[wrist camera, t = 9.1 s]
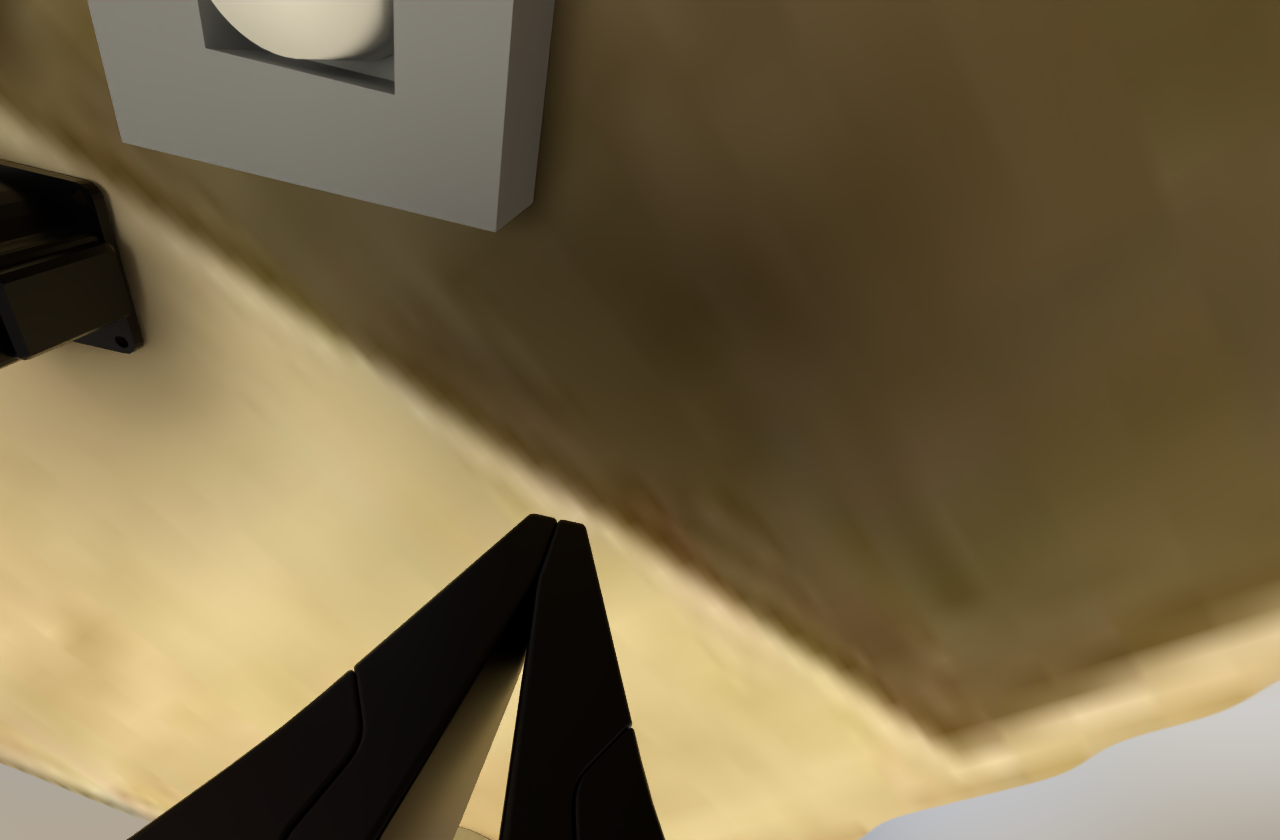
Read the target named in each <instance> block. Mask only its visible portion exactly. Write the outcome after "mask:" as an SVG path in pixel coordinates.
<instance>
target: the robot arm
mask: <svg viewBox="0 0 1280 840" xmlns="http://www.w3.org/2000/svg"><path fill="white" fill-rule="evenodd" d="M82 193H83V194H84V195H85V197H86V199H85V198H84V196H83V194H82ZM71 341H74V342H78V343H82V344H87V345H91V346H95V347H100V348H104V349H108V350H113V351H117V352H121V353H128V354H130V353H132V352H134V351H136V350H138V349H140V348H142V346H143V339H142V335H141V332H140V328H139V324H138V321H137V317H136V313H135V310H134V306H133V303H132V299H131V295H130V292H129V288H128V284H127V281H126V277H125V273H124V270H123V266H122V262H121V259H120V255H119V252H118V248H117V244H116V241H115V237H114V233H113V230H112V226H111V222H110V219H109V215H108V212H107V208H106V204H105V201H104V198H103V195H102V193H101V192H100V190H99V189H98V188H97V187H96V186H95V185H94V184H92V183H91V182H89V181H87V180H84V179H79V178H75V177H71V176H67V175H63V174H58V173H54V172H50V171H46V170H42V169H37V168H33V167H29V166H25V165H21V164H17V163H12V162H8V161H4V160H0V369H1V368H3V367H6V366H8V365H10V364H13V363H15V362H17V361H20V360H28V359H31V358H34V357H36V356H38V355H41V354H43V353H45V352H48V351H50V350H52V349H55V348H57V347H59V346H62V345H64V344H66V343H68V342H71ZM524 660H525V661H524ZM523 663H524V668H523V675H522V682H521V689H520V696H519V703H518V710H517V717H516V723H515V730H514V737H513V744H512V751H511V758H510V765H509V772H508V779H507V786H506V793H505V800H504V807H503V814H502V821H501V828H500V835H499V840H665V838H664V835H663V832H662V829H661V826H660V823H659V820H658V817H657V814H656V811H655V808H654V805H653V801H652V798H651V794H650V790H649V787H648V783H647V779H646V776H645V772H644V768H643V764H642V761H641V757H640V753H639V749H638V744H637V740H636V736H635V732H634V729H633V728H631V726H632V720H631V716H630V712H629V708H628V703H627V699H626V695H625V691H624V686H623V682H622V678H621V674H620V670H619V665H618V661H617V657H616V653H615V648H614V644H613V640H612V636H611V632H610V627H609V623H608V619H607V615H606V610H605V606H604V602H603V598H602V593H601V589H600V585H599V581H598V577H597V572H596V568H595V564H594V560H593V555H592V551H591V547H590V543H589V538H588V534H587V530H586V527H585V526H584V525H583V524H580V523H576V522H571V521H566V520H560V521H559V522H558V523H557V521H556V519H555V518H552V517H548V516H543V515H538V514H530V515H528V516H527V517H526V518H525V519H524V520H522V521H521V522H520V523H519V524H518V525H517V526H515V527H514V528H513V529H512V530H511V531H510V532H509V533H507V534H506V535H505V536H504V537H503V538H502V539H500V540H499V541H498V542H497V543H496V544H495V545H494V546H492V547H491V548H490V549H489V550H488V551H487V552H485V553H484V554H483V555H482V556H481V557H480V558H478V559H477V560H476V561H475V562H474V563H473V564H472V565H470V566H469V567H468V568H467V569H466V570H465V571H463V572H462V573H461V574H460V575H459V576H458V577H457V578H455V579H454V580H453V581H452V582H451V583H450V584H448V585H447V586H446V587H445V588H444V589H443V590H442V591H440V592H439V593H438V594H437V595H436V596H435V597H433V598H432V599H431V600H430V601H429V602H428V603H426V604H425V605H424V606H423V607H422V608H421V609H420V610H418V611H417V612H416V613H415V614H414V615H413V616H411V617H410V618H409V619H408V620H407V621H406V622H405V623H403V624H402V625H401V626H400V627H399V628H398V629H396V630H395V631H394V632H393V633H392V634H391V635H390V636H388V637H387V638H386V639H385V640H384V641H383V642H381V643H380V644H379V645H378V646H377V647H376V648H374V649H373V650H372V651H371V652H370V653H369V654H368V655H366V656H365V657H364V658H363V659H362V660H361V661H359V662H358V663H357V664H356V665H355V667H354V671H352V670H349V671H347V672H346V673H345V674H344V675H343V676H342V677H341V678H339V679H338V680H337V681H336V682H335V683H334V684H333V685H331V686H330V687H329V688H328V689H327V690H326V691H325V692H323V693H322V694H321V695H320V696H319V697H317V698H316V699H315V700H314V701H312V702H311V703H310V704H309V705H308V706H306V707H305V708H304V709H303V710H302V711H300V712H299V713H298V714H297V715H295V716H294V717H293V718H292V719H291V720H289V721H288V722H287V723H286V724H284V725H283V726H282V727H281V728H279V729H278V730H277V731H275V732H274V733H273V734H271V735H270V736H269V737H267V738H266V739H265V740H263V741H262V742H261V743H259V744H258V745H257V746H255V747H254V748H253V749H251V750H250V751H249V752H247V753H246V754H245V755H243V756H242V757H241V758H239V759H238V760H237V761H235V762H234V763H233V764H231V765H230V766H228V767H227V768H226V769H224V770H223V771H222V772H220V773H219V774H217V775H216V776H215V777H213V778H212V779H210V780H209V781H208V782H206V783H205V784H203V785H202V786H201V787H199V788H198V789H197V790H195V791H194V792H192V793H191V794H190V795H188V796H187V797H185V798H184V799H183V800H181V801H180V802H178V803H177V804H176V805H174V806H173V807H172V808H170V809H169V810H167V811H166V812H165V813H163V814H162V815H160V816H159V817H158V818H156V819H155V820H153V821H152V822H151V823H149V824H148V825H147V826H145V827H144V828H142V829H141V830H140V831H138V832H137V833H135V834H134V835H133V836H131V837H130V838H128V839H127V840H453V839H454V837H455V834H456V832H457V829H458V827H459V824H460V822H461V819H462V817H463V814H464V812H465V809H466V807H467V804H468V802H469V799H470V797H471V794H472V792H473V789H474V787H475V784H476V782H477V779H478V777H479V774H480V772H481V770H482V767H483V765H484V762H485V760H486V757H487V755H488V752H489V750H490V747H491V745H492V742H493V740H494V737H495V735H496V732H497V730H498V727H499V725H500V722H501V720H502V717H503V715H504V712H505V710H506V707H507V705H508V702H509V700H510V697H511V695H512V692H513V690H514V688H515V685H516V683H517V680H518V677H519V675H520V672H521V669H522V666H523Z"/></svg>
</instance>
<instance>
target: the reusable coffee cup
mask: <svg viewBox="0 0 1280 840" xmlns="http://www.w3.org/2000/svg"><path fill="white" fill-rule="evenodd" d="M453 840H489V839H488V838H486V837H484V836H482V835H480V834H478V833H475V832H473V831H470V830H468V829H464V828H461V827H458V829H457V832H456V834H455V837H454V839H453Z"/></svg>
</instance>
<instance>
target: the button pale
mask: <svg viewBox="0 0 1280 840" xmlns="http://www.w3.org/2000/svg"><path fill="white" fill-rule="evenodd" d="M211 1H212V2H213V3H214V5H215V6H216V8H217V9H218V10H219V11H220V13H221V14H222V15H223V16H224V17H225V18H226V19H227V21H228V22H229V23H230V24H231V25H232V26H234V27H235V28H236V29H237V30H238V31H239V32H240V33H241V34H243V35H244V36H245V37H246V38H248V39H249V40H250V41H252V42H253V43H255V44H257V45H258V46H260V47H261V48H263V49H266V50H268V51H270V52H272V53H274V54H277V55H281V56H284V57H288V58H294V59H324V60H368V61H371V60H378V59H382V58H385V57H388V56H390V55H392V54H394V5H393V0H211Z"/></svg>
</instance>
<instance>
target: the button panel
mask: <svg viewBox="0 0 1280 840" xmlns="http://www.w3.org/2000/svg"><path fill="white" fill-rule="evenodd" d="M87 1H88V5H89V9H90V13H91V17H92V21H93V25H94V29H95V34H96V38H97V42H98V46H99V50H100V54H101V58H102V62H103V66H104V70H105V74H106V78H107V82H108V86H109V90H110V94H111V99H112V103H113V107H114V111H115V115H116V119H117V123H118V127H119V131H120V135H121V139H122V142H123V143H127V144H131V145H135V146H139V147H144V148H148V149H152V150H156V151H160V152H164V153H168V154H173V155H177V156H181V157H185V158H189V159H193V160H197V161H202V162H206V163H210V164H214V165H218V166H222V167H226V168H231V169H235V170H239V171H243V172H247V173H251V174H255V175H260V176H264V177H268V178H272V179H276V180H280V181H284V182H289V183H293V184H297V185H301V186H305V187H309V188H314V189H318V190H322V191H326V192H330V193H334V194H338V195H343V196H347V197H351V198H355V199H359V200H363V201H367V202H372V203H376V204H380V205H384V206H388V207H392V208H396V209H401V210H405V211H409V212H413V213H417V214H421V215H425V216H430V217H434V218H438V219H442V220H446V221H450V222H454V223H459V224H463V225H467V226H471V227H475V228H479V229H483V230H488V231H492V232H497V231H498V230H499V229H501V228H502V227H503V226H504V225H506V224H507V223H508V222H509V221H511V220H512V219H513V218H515V217H516V216H517V215H518V214H520V213H521V212H522V211H523V210H525V209H526V208H527V207H528V206H530V205H531V204H532V203H533V199H534V190H535V180H536V171H537V162H538V153H539V144H540V134H541V125H542V116H543V107H544V97H545V88H546V79H547V70H548V61H549V51H550V42H551V33H552V24H553V14H554V5H555V0H393V5H394V54H392V55H390V56H388V57H385V58H382V59H378V60H371V61H368V60H324V59H294V58H288V57H284V56H281V55H277V54H274V53H272V52H270V51H268V50H266V49H263V48H261V47H260V46H258V45H257V44H255V43H253V42H252V41H250V40H249V39H248V38H246V37H245V36H244V35H243V34H241V33H240V32H239V31H238V30H237V29H236V28H235V27H234V26H232V25H231V24H230V23H229V22H228V21H227V19H226V18H225V17H224V16H223V15H222V14H221V13H220V11H219V10H218V9H217V8H216V6H215V5H214V3H213V2H212V1H211V0H87Z"/></svg>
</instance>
